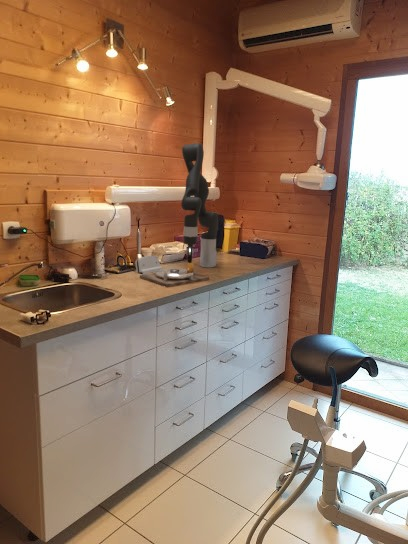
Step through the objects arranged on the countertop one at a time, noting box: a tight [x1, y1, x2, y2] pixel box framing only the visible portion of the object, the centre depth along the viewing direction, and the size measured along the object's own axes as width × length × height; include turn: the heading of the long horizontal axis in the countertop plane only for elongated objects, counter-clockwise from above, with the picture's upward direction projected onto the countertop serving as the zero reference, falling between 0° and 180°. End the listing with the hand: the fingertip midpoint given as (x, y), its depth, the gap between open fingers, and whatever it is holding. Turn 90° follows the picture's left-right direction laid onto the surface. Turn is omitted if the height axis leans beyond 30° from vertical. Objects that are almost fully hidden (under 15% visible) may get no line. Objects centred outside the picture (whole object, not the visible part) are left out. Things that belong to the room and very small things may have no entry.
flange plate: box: [155, 261, 195, 279], centre depth 223 cm, size 20×22×6 cm
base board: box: [139, 272, 210, 288], centre depth 224 cm, size 28×24×6 cm
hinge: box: [134, 255, 164, 275], centre depth 240 cm, size 17×5×10 cm, turn 143°
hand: (189, 266), depth 229 cm, fingers closed
